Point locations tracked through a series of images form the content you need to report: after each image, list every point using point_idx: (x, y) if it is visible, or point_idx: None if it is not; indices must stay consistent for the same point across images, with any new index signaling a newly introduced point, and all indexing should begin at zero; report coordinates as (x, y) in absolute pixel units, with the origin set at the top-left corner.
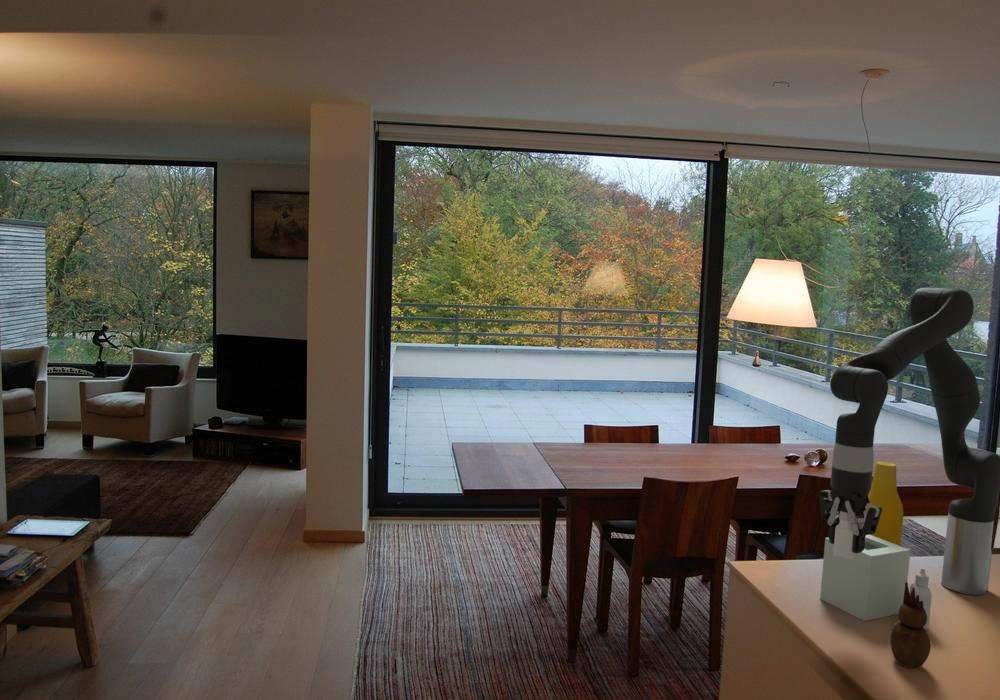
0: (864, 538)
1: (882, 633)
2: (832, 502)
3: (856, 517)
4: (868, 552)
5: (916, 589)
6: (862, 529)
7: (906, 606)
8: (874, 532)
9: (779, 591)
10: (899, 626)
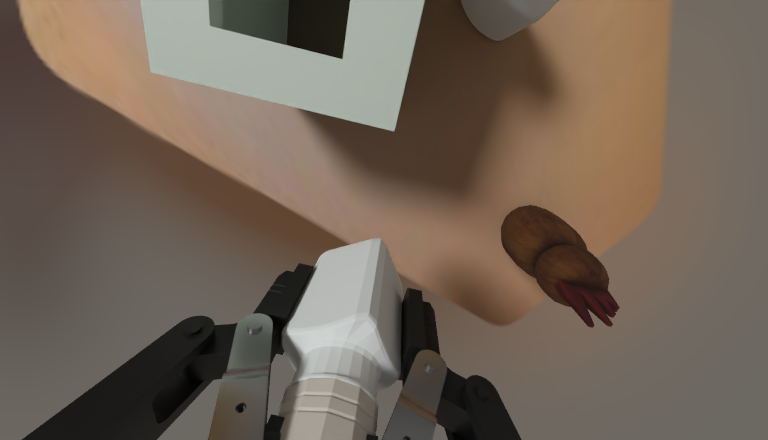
0: (437, 351)
1: (449, 142)
2: (107, 423)
3: (373, 433)
4: (362, 92)
5: (518, 4)
6: (448, 437)
7: (567, 302)
8: (495, 396)
9: (213, 127)
10: (534, 275)
